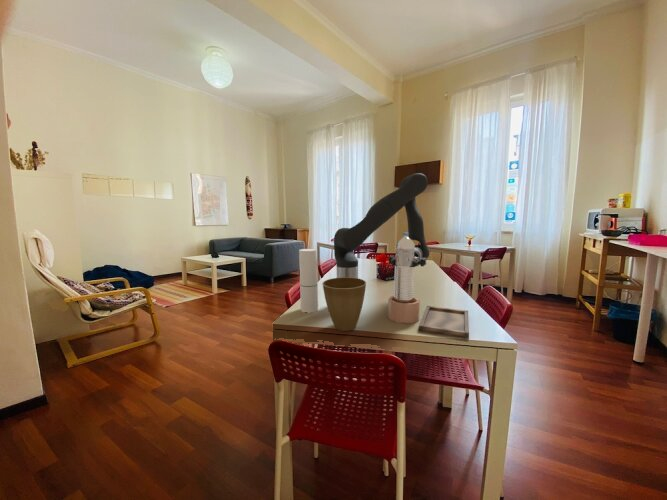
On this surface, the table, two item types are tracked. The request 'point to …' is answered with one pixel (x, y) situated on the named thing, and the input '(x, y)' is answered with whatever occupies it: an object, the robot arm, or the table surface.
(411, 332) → the table surface
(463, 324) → the tray
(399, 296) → the water bottle
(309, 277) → the cylindrical container
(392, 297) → the holder cup
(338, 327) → the plant pot
